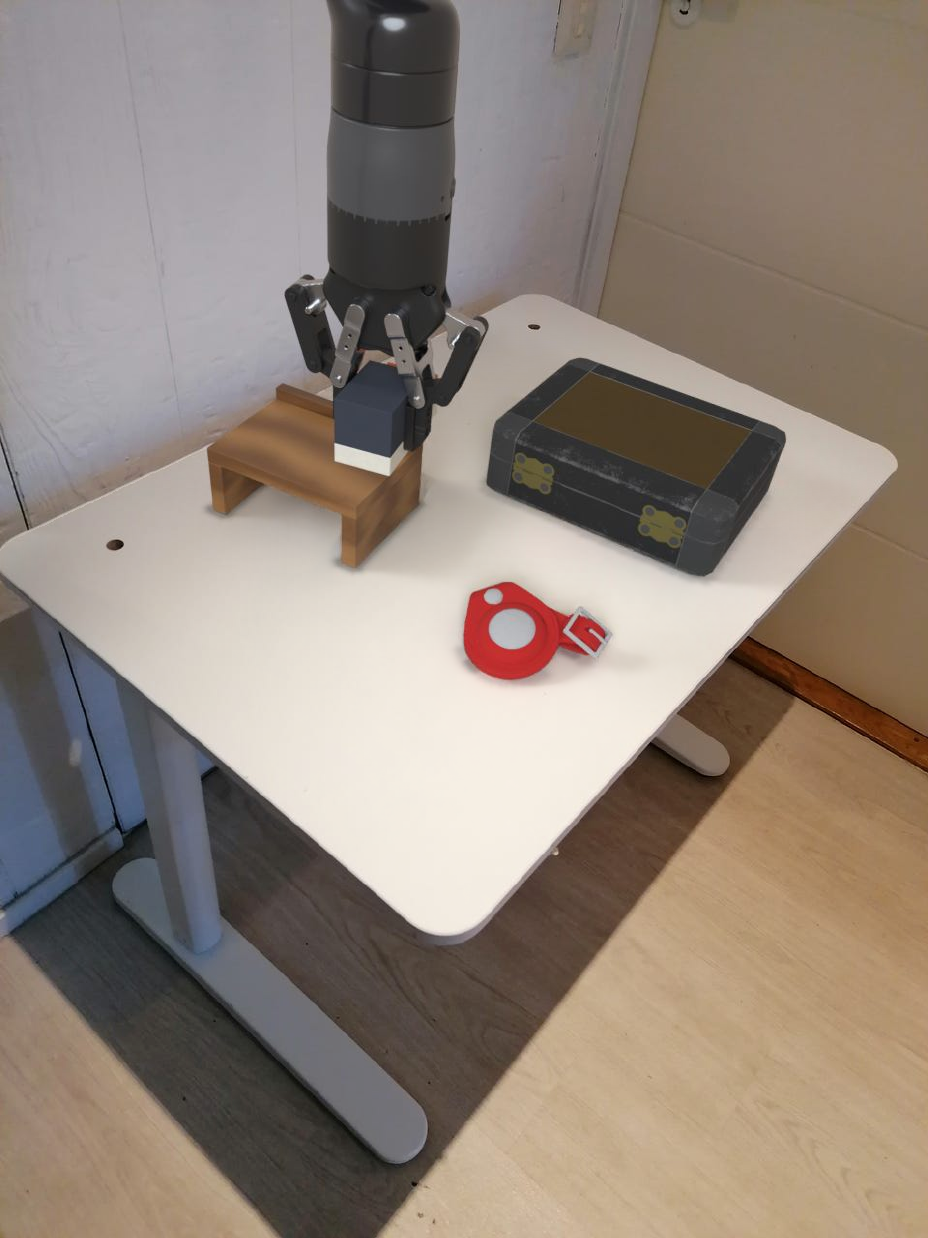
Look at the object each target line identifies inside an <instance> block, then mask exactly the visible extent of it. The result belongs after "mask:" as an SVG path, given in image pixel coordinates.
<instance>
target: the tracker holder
mask: <svg viewBox="0 0 928 1238" xmlns="http://www.w3.org/2000/svg"><path fill="white" fill-rule="evenodd" d="M580 614H582V615H580ZM464 617H465V618H464V623H463V624H464V625H463V635H462V636H463V638H462V639H463V648H464V652H465V655H466V656H467V658H468V660H469V661H470V662H471V664H472V665H473V666H474V667H476V669H478V670H479V671H480V672H482V673H483V674H485V675H488V676H490V677H492V678H496V679H500V680H506V681H507V680H508V681H509V680H510V681H513V680H515V681H516V680H522V679H526V678H529V677H531V676H534V675H535V674H537V673H539V672H540V671H542V670H543V669H544V668H545V667H546V666H547V665H548V664H549V663H550V662H551V660H552V659H553V657H554V656H555V654H556V653H557V650H558V647H561V648H563V649H566V650H568V651H571V652H574V653H576V654H577V653H578V654H581V655H584V656H591V657H592V658H593V659H594V660H597V659H598V658H599V657H600V655H601V653H602V652H603V651H604V649H605V648H606V647H607V646H608V645H609V641H610V640H611V638H612V636H613V635H614V634H613V632H612V631H611V630H610V629H609V628H607V627H606V626H605V625H604V624H603V623H602V622H600V621H599V620H598V619H597V618H595V617H594V615H592V614H591V613H590V612H589V611H587V609H586V608H584V607H583V606H578V608H577V609H576V610H575V612H574V613H571V614H569V615H566V614H564V613H561V612H559V611H557V610H555V609H553V608H552V607H550V606H549V605H547V604H546V603H544V602H543V601H542V600H541V599H540V598H538V597H537V596H536V595H533V594H532V593H531V592H529V591H528V590H527V589H525V588H524V587H522V586H521V585H519V584H517V583H516V582H513V581H502V582H499V583H496V584H493V585H491V586H490V585H489V586H487V587H484V588H482V589H478V590H474V591H472V592H471V593H470V595H469V598H468V603H467V607H466V613H465V616H464Z"/></svg>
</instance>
